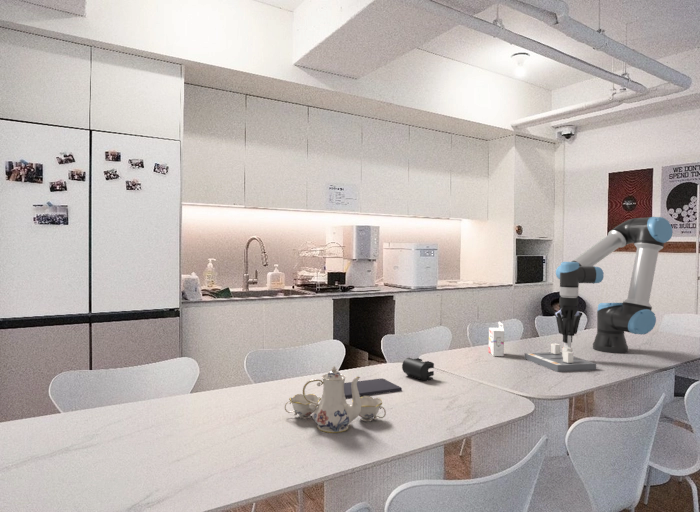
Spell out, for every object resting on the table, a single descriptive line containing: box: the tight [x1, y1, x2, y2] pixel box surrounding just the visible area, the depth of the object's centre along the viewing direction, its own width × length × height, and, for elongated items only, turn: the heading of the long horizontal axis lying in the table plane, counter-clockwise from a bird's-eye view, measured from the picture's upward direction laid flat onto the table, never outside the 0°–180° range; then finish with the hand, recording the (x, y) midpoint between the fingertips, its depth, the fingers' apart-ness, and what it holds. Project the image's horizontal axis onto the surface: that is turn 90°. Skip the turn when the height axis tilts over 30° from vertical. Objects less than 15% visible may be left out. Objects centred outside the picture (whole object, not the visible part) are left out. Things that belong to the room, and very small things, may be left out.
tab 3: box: [563, 351, 575, 363], centre depth 194 cm, size 2×3×4 cm
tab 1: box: [550, 342, 561, 354], centre depth 209 cm, size 2×3×4 cm
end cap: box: [401, 357, 435, 382], centre depth 176 cm, size 10×7×7 cm
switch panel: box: [523, 351, 597, 373], centre depth 201 cm, size 18×22×3 cm
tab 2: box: [561, 346, 573, 357], centre depth 202 cm, size 2×3×4 cm
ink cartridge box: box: [488, 321, 505, 357], centre depth 217 cm, size 9×5×15 cm, turn 179°
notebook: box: [344, 378, 403, 399], centre depth 161 cm, size 13×2×21 cm
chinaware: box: [284, 365, 387, 434], centre depth 130 cm, size 28×17×17 cm, turn 91°
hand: (567, 350), depth 211 cm, fingers closed
